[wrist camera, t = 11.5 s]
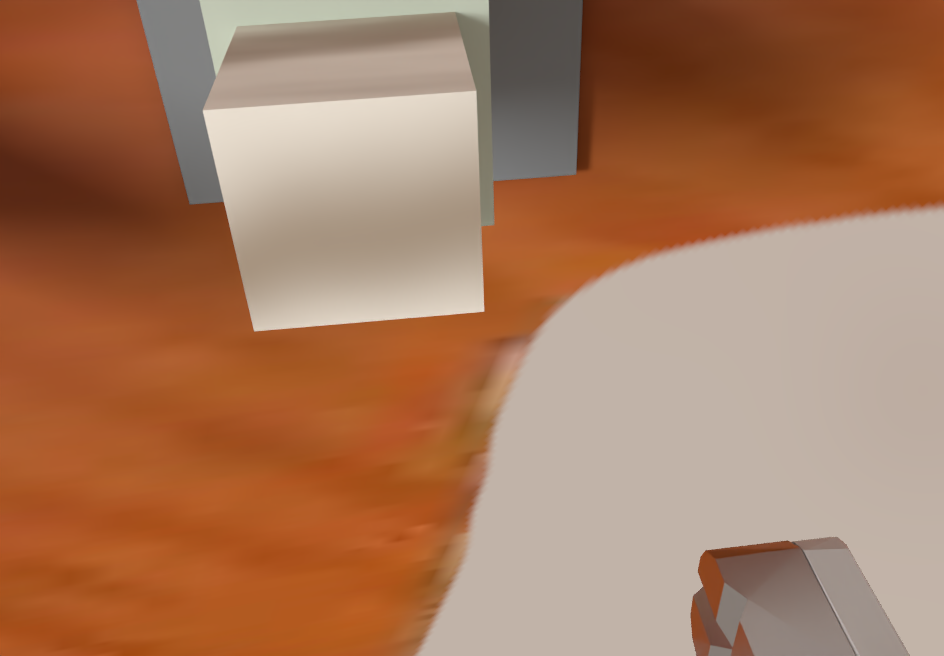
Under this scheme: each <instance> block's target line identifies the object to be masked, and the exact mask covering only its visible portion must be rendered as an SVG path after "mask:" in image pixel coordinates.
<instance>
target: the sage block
mask: <svg viewBox="0 0 944 656" xmlns="http://www.w3.org/2000/svg"><path fill="white" fill-rule="evenodd" d="M199 1H200V6H201V10H202V15H203V19H204V24H205V28H206V33H207V38H208V42H209V47H210V51H211V56H212V60H213V65H214V70H215V74H216V76H217V74H218V71H219V69H220V67H221V64H222V62H223V59H224V57H225V54H226V52H227V49H228V47H229V45H230V42H231V40H232V37H233V35H234V32H235V30H236V27H237V26H249V25H264V24H279V23H295V22H310V21H325V20H340V19H355V18H370V17H385V16H400V15H415V14H430V13H445V12H455V14H456V17H457V21H458V25H459V28H460V32H461V36H462V40H463V43H464V47H465V51H466V54H467V58H468V62H469V65H470V69H471V73H472V77H473V80H474V84H475V88H476V95H477V123H478V151H479V179H480V208H481V226H488V225H494V194H493V154H492V114H491V73H490V33H489V0H199Z"/></svg>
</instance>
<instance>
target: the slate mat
mask: <svg viewBox="0 0 944 656" xmlns="http://www.w3.org/2000/svg"><path fill="white" fill-rule="evenodd" d="M137 4H138V8H139V11H140V15H141V19H142V23H143V27H144V31H145V34H146V38H147V42H148V46H149V50H150V54H151V57H152V61H153V65H154V69H155V73H156V77H157V80H158V84H159V88H160V92H161V96H162V100H163V103H164V107H165V111H166V115H167V119H168V123H169V127H170V130H171V134H172V138H173V142H174V146H175V150H176V153H177V157H178V161H179V165H180V169H181V173H182V176H183V180H184V184H185V188H186V192H187V196H188V199H189V203H190V204H202V203H215V202H224V200H223V196H222V191H221V187H220V183H219V179H218V174H217V170H216V166H215V161H214V157H213V153H212V149H211V144H210V140H209V136H208V132H207V127H206V123H205V119H204V114H203V108H204V106H205V103H206V101H207V98H208V96H209V93H210V91H211V89H212V86H213V84H214V81H215V79H216V74H215V70H214V65H213V60H212V56H211V51H210V47H209V42H208V38H207V33H206V28H205V24H204V19H203V15H202V10H201V6H200V1H199V0H137ZM582 9H583V0H489V33H490V73H491V114H492V154H493V181H500V180H513V179H526V178H539V177H552V176H565V175H576V166H577V140H578V114H579V87H580V61H581V35H582Z"/></svg>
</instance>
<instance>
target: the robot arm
mask: <svg viewBox="0 0 944 656" xmlns="http://www.w3.org/2000/svg"><path fill="white" fill-rule="evenodd" d="M698 573H699V576H700V579H701V581H702V584H703V587H702V588H701V589H700V590H699V591H698V592H697V593H696V594H695V595H694V596H693V601H692V608H691V627H692V638H693V643H694V647H695V651H696V656H910V655H909V653H908V652H907V650H906V648H905V646H904V645H903V643H902V641H901V639H900V638H899V636H898V634H897V633H896V631H895V629H894V627H893V625H892V624H891V622H890V620H889V618H888V617H887V615H886V613H885V611H884V610H883V608H882V606H881V604H880V603H879V601H878V599H877V597H876V596H875V594H874V592H873V590H872V589H871V587H870V585H869V583H868V582H867V580H866V578H865V576H864V575H863V573H862V571H861V570H860V568H859V566H858V564H857V562H856V561H855V559H854V557H853V555H852V554H851V552H850V550H849V548H848V547H847V545H846V544H845V543H844V542H843V541H841V540H840V539H839V538H838V537H827V538H819V539H811V540H802V541H794V542H789V541H781V542H773V543H764V544H757V545H748V546H739V547H730V548H722V549H715V550H706V551H705V552H704V553H703V555H702V556H701V558H700V563H699V567H698Z"/></svg>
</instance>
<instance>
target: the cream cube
mask: <svg viewBox="0 0 944 656" xmlns="http://www.w3.org/2000/svg"><path fill="white" fill-rule="evenodd" d="M203 114H204V119H205V123H206V127H207V132H208V136H209V140H210V144H211V149H212V153H213V157H214V161H215V166H216V170H217V174H218V179H219V183H220V187H221V191H222V196H223V200H224V204H225V209H226V213H227V217H228V221H229V226H230V230H231V234H232V238H233V243H234V247H235V251H236V256H237V260H238V264H239V268H240V273H241V277H242V281H243V286H244V290H245V294H246V298H247V303H248V307H249V311H250V315H251V320H252V324H253V328H254V331H263V330H275V329H287V328H299V327H310V326H322V325H334V324H345V323H357V322H369V321H380V320H392V319H404V318H415V317H427V316H439V315H450V314H462V313H474V312H484V292H483V264H482V236H481V208H480V179H479V151H478V123H477V95H476V88H475V84H474V80H473V77H472V73H471V69H470V65H469V62H468V58H467V54H466V51H465V47H464V43H463V40H462V36H461V32H460V28H459V25H458V21H457V17H456V14H455V12H445V13H430V14H415V15H400V16H385V17H370V18H355V19H340V20H325V21H310V22H295V23H279V24H264V25H249V26H237V27H236V30H235V32H234V35H233V37H232V40H231V42H230V45H229V47H228V49H227V52H226V54H225V57H224V59H223V62H222V64H221V67H220V69H219V71H218V74H217V76H216V79H215V81H214V84H213V86H212V89H211V91H210V93H209V96H208V98H207V101H206V103H205V106H204V108H203Z"/></svg>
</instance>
